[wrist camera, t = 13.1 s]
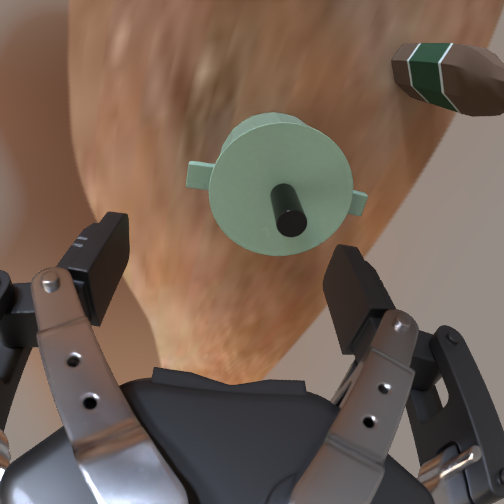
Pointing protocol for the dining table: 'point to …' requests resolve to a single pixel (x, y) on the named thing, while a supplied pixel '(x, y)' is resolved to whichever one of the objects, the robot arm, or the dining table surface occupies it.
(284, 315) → the dining table surface
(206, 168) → the pot
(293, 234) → the lid
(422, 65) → the beer bottle
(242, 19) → the dining table surface
